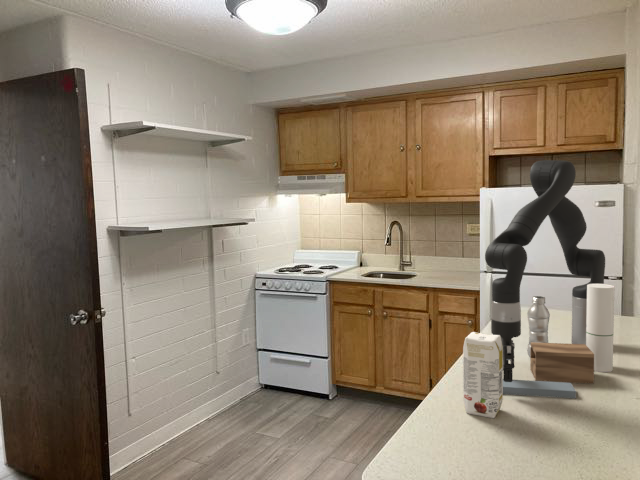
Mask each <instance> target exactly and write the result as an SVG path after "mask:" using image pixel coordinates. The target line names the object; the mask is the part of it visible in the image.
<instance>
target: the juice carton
mask: <svg viewBox="0 0 640 480" xmlns="http://www.w3.org/2000/svg"><path fill="white" fill-rule="evenodd" d="M462 354H463V355H462V356H463V357H462V359H463V360H462V361H463V362H462V370H463V371H462V373H463V375H462V377H463V379H462V380H463V382H462V383H463V386H462V387H463V389H462V391H463V392H462V393H463V397H462V398H463V405H464V409H465V413H466V414H468V415H469V414H470V415H472V416H473V415H475V416H480V417H483V418H489V419H495V418H496V416H497V415H498V413H499V411H500V409H501V407H502V404H503V400H504V394H503V346H502V341H501V337H500V335H493V334H485V333H480V332H476V331H471V332H470V333H469V334H468V335H467V336H466V337H465V338H464V342H463V347H462Z"/></svg>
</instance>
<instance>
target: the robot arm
mask: <svg viewBox="0 0 640 480" xmlns="http://www.w3.org/2000/svg"><path fill="white" fill-rule="evenodd" d="M576 172H577V171H576V167H575V165H574V163H572V162H571V161H568V160H562V159H561V160H559V159H558V160H556V159H555V160H553V159H551V160H549V159H545V160H537V161H535V162H534V163H532V165H531V166H530V170H529V179H530V183H531V184H530V185H531V187H532V189H533V191H534V192H535V194H536V195H537V198H534V199H533V200H531V201H530V202H529V203H527V204H525V205H524V206H522V208H520V209H519V210H518V211H517V213H515V215H514V216H513V218H512V220H510V223H509V224H508V227H507V228H506V229H504V231H502V232H501V233H500V234H498V236H496V237H495V238H494V239H493V240H492V241H491V242H490V243H489V244H488V246H487V248H486V250H485V253H484V259H485V260H484V261H485V262H486V265H487V266H488V267H489V268H491V269H494V270H495V269H496V270H503V271H507V272H506V275H505V277H499V278H495V279H494V280H493V281H492V284H491V308H490V319H491V320H490V324H491V325H490V330H491V331H490V332H491V335H500V337H501V341H502V346H503V380H504V382H512V380H513V369H515V367H516V366H515V347H516V346H515V342H514V339H513V338H518V337H520V336H521V334H522V321H521V319H522V310H521V298H520V297H521V284H522V280H523V276H524V272H525V269H526V265H527V262H528V254H527V250H526V249H525V248H524V247H526V246H528V245H529V244H530V243H531V242H532V240H533V238H534V237H535V235H536V234H537V232H538V230H539V228H540V227H541V226H542V223H543V222H544V221H545V219H546V218H547V217H548V218H549V220H550V224H551V226H552V229H553V231H554V233H555V234H556V237H557V239H558V242H559V244H560V247H561V248H562V249H561V250H562V252H563V255H564V258H565V259H564V260H565V264H566V266H567V269H568V271H569V272H570V274H571V275H573V276H577V277H586V278H587V277H588V278H590V280H589V282H587V283H585V284H581V285H576V286H574V287H573V288H572V293H571V295H572V296H571V344H585V345H586V318H587V285H588V284H605V269H606V255H605V253H604V251H603V250H601V249H591V248H590V249H588V248H579V247H578V246H577V245H578V244H579V243H580V242H581V240H582V239H583V238H584V236H585V234H586V231H587V222H586V220H585V216H584V215H583V212H582V210H581V209H580V207H579V206H578V205H577V204H575V202H573V201H572V200H571V199H569V198H567V196H566V195H567V194H568V193H569V192H570V190H572V187H573V185H574V184H575V181H576ZM509 361H510V363H509Z"/></svg>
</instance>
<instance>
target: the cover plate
mask: <svg viewBox="0 0 640 480" xmlns="http://www.w3.org/2000/svg"><path fill="white" fill-rule="evenodd" d="M503 395H515V396H517V395H518V396H530V397H548V398H560V399H562V398H565V399H577V391H576V389H575V388H574V386H573V384H572V382H552V381H536V380H528V379H527V380H526V379H512V382H504V380H503Z"/></svg>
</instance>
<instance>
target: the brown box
mask: <svg viewBox="0 0 640 480" xmlns="http://www.w3.org/2000/svg"><path fill="white" fill-rule="evenodd" d="M529 358H530V360H529V361H530V367H529V368H530V372H531V374H532V376H533V378H534V381H547V382H564V383H571V384H572V383H573V384H574V383H576V384H593V385H594V384H595V380H594V378H595V374H594V373H595V371H594V353H593V352H592V351H591V350H590V349H589V348H588V347H587V346H586V345H585V344H572V343H561V342H560V343H558V342H548V343H535V342H531V349H530V357H529Z"/></svg>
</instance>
